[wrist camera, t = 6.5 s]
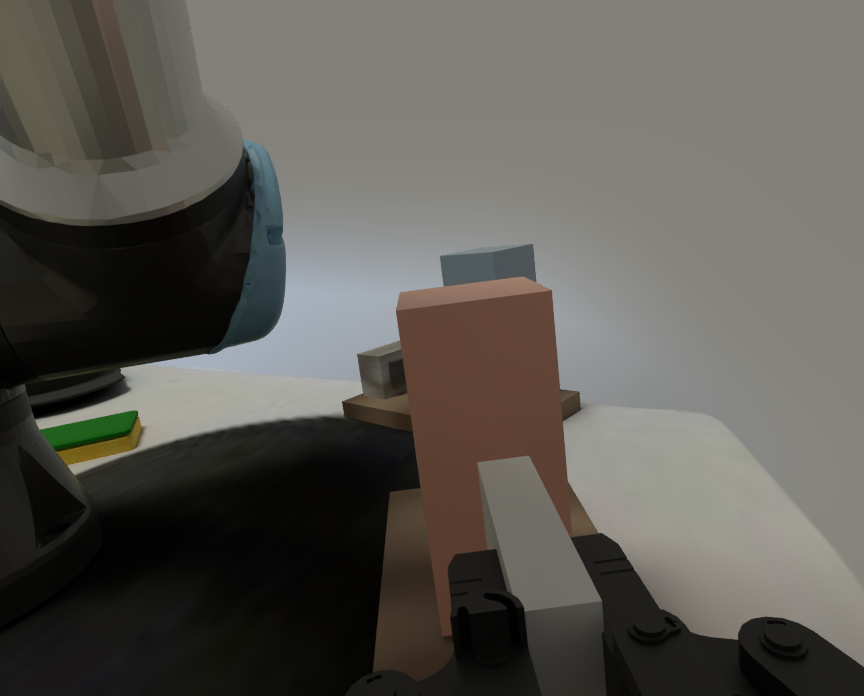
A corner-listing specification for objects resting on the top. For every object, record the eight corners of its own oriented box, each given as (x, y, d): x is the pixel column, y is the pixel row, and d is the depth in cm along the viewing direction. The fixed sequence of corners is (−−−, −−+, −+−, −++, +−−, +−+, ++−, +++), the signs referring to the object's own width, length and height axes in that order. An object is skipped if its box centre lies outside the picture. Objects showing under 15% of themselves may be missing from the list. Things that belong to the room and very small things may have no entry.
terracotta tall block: (579, 618, 21) (551, 290, 19) (441, 636, 21) (396, 310, 19) (548, 544, 26) (523, 276, 23) (436, 558, 26) (400, 292, 23)
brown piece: (730, 798, 16) (726, 625, 15) (368, 846, 16) (336, 676, 15) (563, 493, 34) (555, 404, 33) (393, 515, 34) (379, 427, 33)
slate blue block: (546, 395, 46) (532, 243, 44) (509, 415, 43) (492, 252, 40) (496, 388, 50) (481, 247, 47) (458, 406, 46) (440, 255, 44)
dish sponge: (135, 454, 52) (129, 428, 52) (-50, 496, 48) (-59, 469, 47) (143, 431, 59) (137, 408, 58) (-19, 467, 54) (-27, 442, 54)
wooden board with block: (580, 409, 48) (575, 343, 46) (508, 454, 41) (500, 378, 39) (420, 386, 60) (413, 334, 59) (344, 417, 53) (335, 359, 52)
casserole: (-72, 415, 77) (-92, 354, 75) (75, 375, 92) (61, 323, 90) (5, 435, 63) (-18, 359, 61) (164, 384, 78) (149, 322, 76)
